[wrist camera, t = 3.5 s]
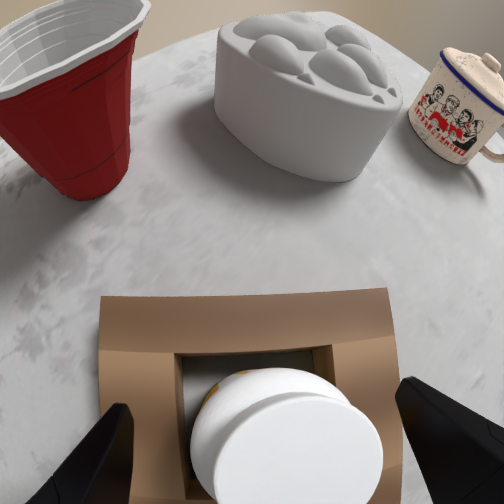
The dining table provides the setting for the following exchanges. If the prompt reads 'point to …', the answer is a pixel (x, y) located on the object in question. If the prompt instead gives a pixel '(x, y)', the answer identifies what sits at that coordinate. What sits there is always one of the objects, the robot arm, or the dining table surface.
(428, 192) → the dining table surface
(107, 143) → the plastic cup
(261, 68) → the lumpy-topped squat cylinder
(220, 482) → the supplement bottle
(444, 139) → the teacup with lid
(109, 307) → the bottle holder
